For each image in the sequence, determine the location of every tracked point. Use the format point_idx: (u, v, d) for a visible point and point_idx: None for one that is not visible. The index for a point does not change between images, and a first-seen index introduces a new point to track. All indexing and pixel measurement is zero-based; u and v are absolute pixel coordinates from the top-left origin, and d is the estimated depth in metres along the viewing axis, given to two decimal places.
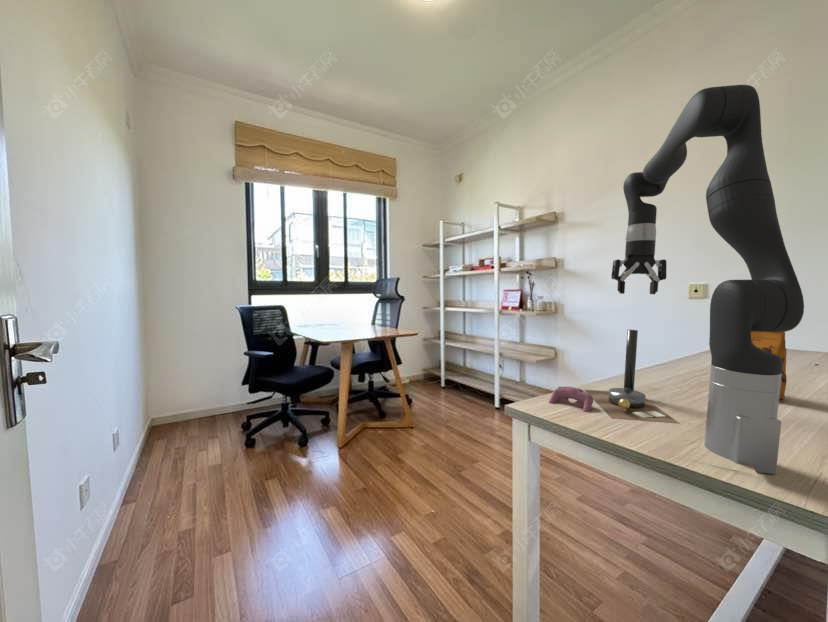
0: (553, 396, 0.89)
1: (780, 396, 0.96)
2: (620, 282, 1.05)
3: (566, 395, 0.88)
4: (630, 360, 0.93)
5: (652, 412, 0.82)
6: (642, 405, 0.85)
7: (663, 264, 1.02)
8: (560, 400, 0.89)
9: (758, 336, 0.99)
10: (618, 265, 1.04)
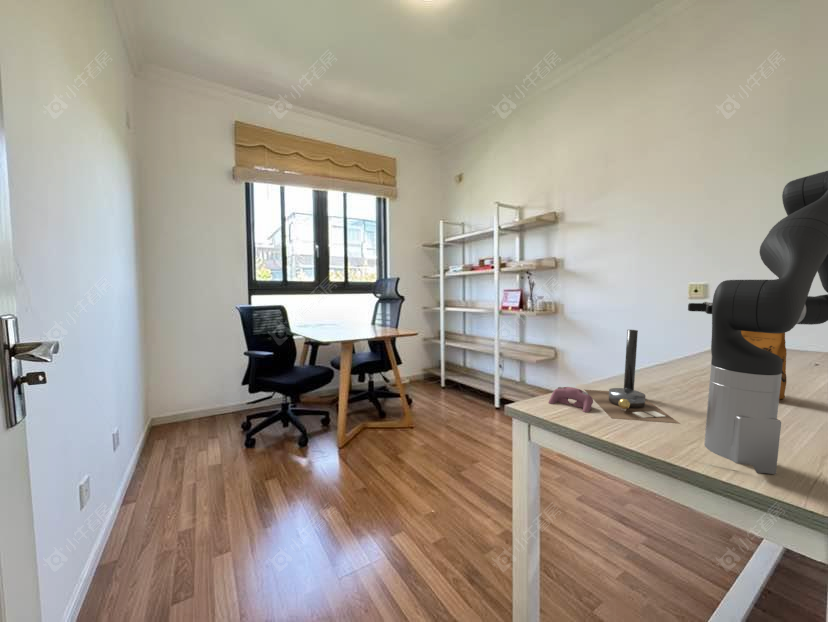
0: (552, 397, 0.89)
1: (780, 396, 0.96)
2: None
3: (566, 395, 0.88)
4: (630, 360, 0.93)
5: (652, 412, 0.82)
6: (642, 405, 0.85)
7: None
8: (560, 400, 0.89)
9: (758, 336, 0.99)
10: None
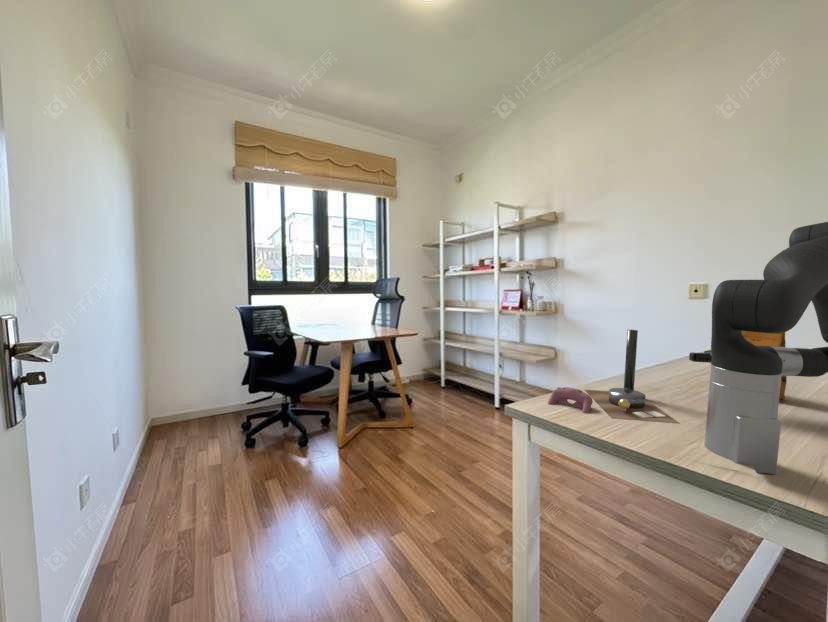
0: (552, 397, 0.88)
1: (780, 396, 0.96)
2: None
3: (565, 396, 0.87)
4: (630, 360, 0.93)
5: (652, 412, 0.82)
6: (642, 405, 0.85)
7: None
8: (559, 401, 0.89)
9: (758, 336, 0.99)
10: None
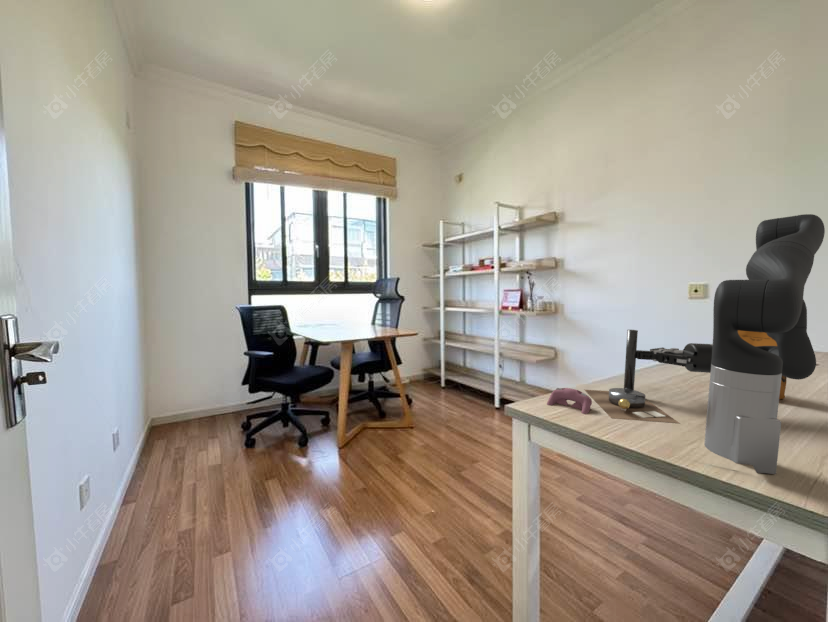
0: (551, 398, 0.88)
1: (780, 396, 0.96)
2: None
3: (564, 397, 0.87)
4: (630, 360, 0.93)
5: (652, 412, 0.82)
6: (642, 405, 0.85)
7: (679, 355, 0.87)
8: (558, 402, 0.88)
9: (758, 336, 0.99)
10: (661, 348, 0.96)
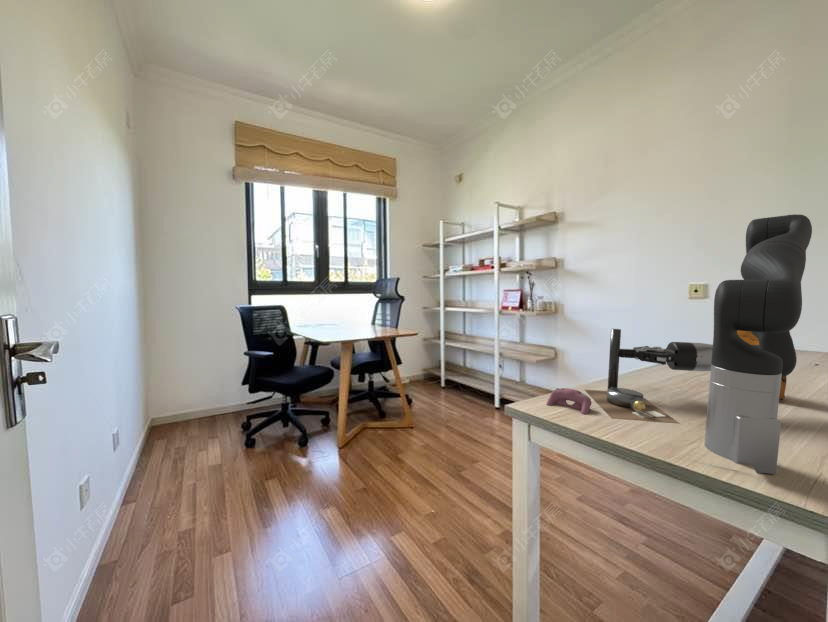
0: (550, 398, 0.87)
1: (780, 396, 0.96)
2: None
3: (564, 397, 0.87)
4: (616, 359, 0.95)
5: (652, 412, 0.82)
6: None
7: (660, 354, 0.89)
8: (558, 402, 0.88)
9: None
10: (644, 347, 0.98)
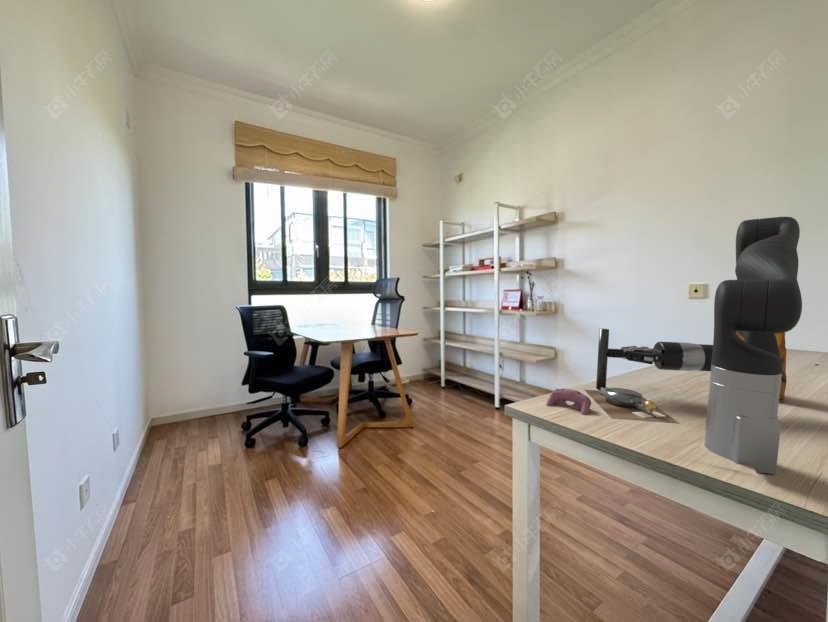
0: (550, 399, 0.87)
1: (780, 396, 0.96)
2: None
3: (563, 397, 0.86)
4: (606, 359, 0.95)
5: None
6: None
7: (647, 353, 0.89)
8: (557, 402, 0.88)
9: None
10: (632, 346, 0.99)
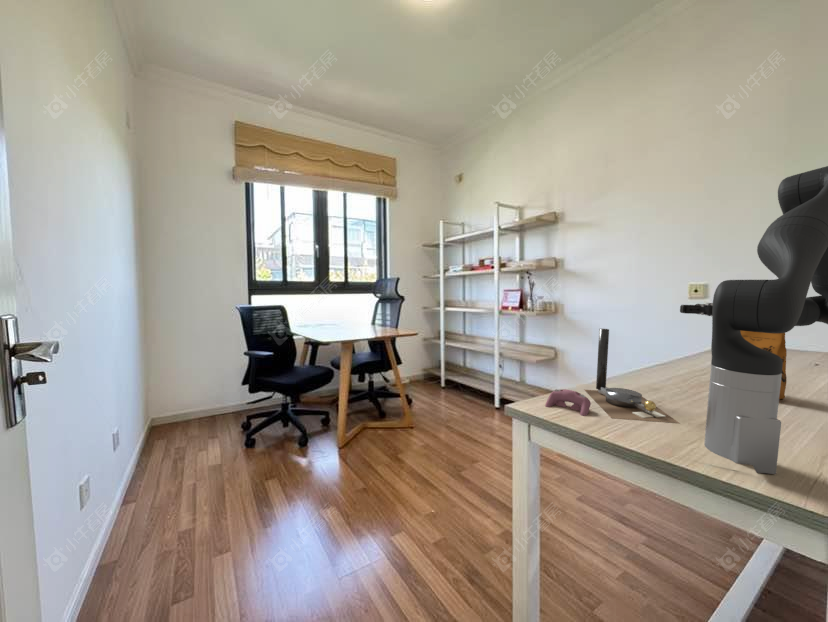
0: (549, 400, 0.86)
1: (780, 396, 0.96)
2: None
3: (563, 398, 0.86)
4: (606, 359, 0.95)
5: None
6: None
7: None
8: (556, 403, 0.87)
9: (758, 336, 0.99)
10: None
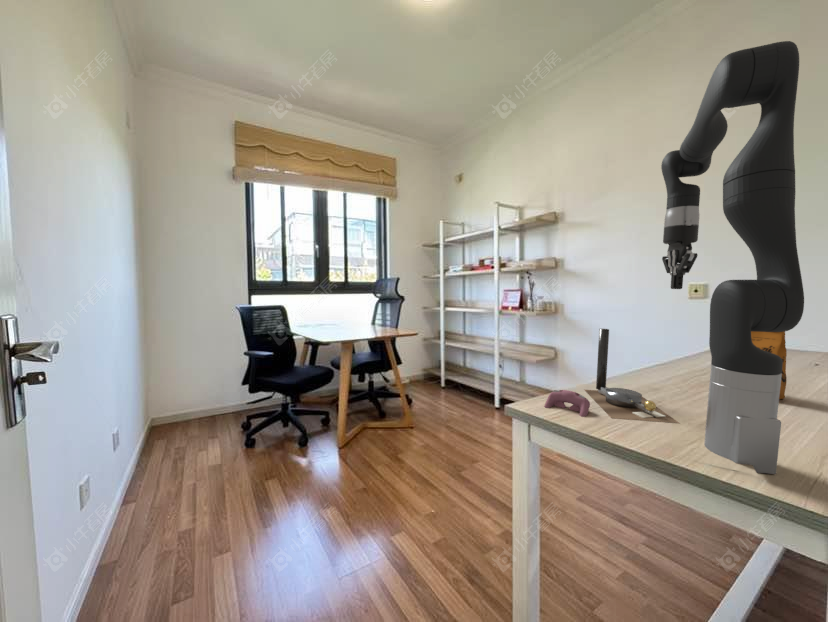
0: (548, 400, 0.86)
1: (780, 396, 0.96)
2: None
3: (562, 399, 0.85)
4: (606, 359, 0.95)
5: None
6: None
7: (683, 258, 0.90)
8: (556, 404, 0.86)
9: (758, 336, 0.99)
10: (664, 261, 0.99)
